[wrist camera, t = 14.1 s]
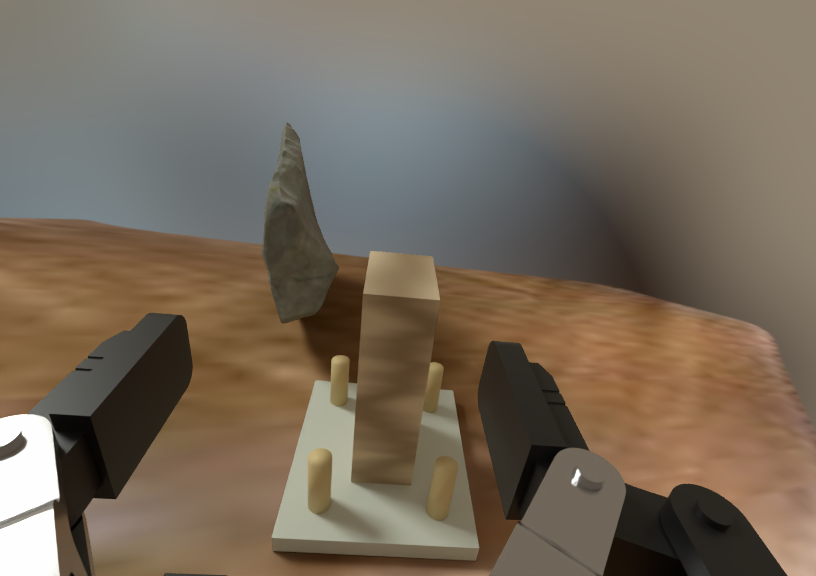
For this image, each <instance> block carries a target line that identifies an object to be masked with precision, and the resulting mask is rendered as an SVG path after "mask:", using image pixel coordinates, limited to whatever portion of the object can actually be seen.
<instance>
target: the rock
mask: <svg viewBox="0 0 816 576" xmlns="http://www.w3.org/2000/svg"><path fill="white" fill-rule="evenodd" d="M264 225H265V226H264V239H263V249H262V256H263V259H264V262H265V265H266V267H267V270H268V277H269V282H270V286H271V291H272V295H273V298H274V301H275V304H276V307H277V311H278V314H279V317H280V321H281V323H288V322H291V321H294V320H297V319H300V318H304V317H309V316H312V315H315V314H316V313H317V311H319V309H320V308H321V307H322V305H323V302H324V300H325V297H326V294H327V292H328V290H329V288H330V286H331V283H332V281H333V279H334V277H335V275H336V273H337V271H338V269H339V266H338V265H337V264H336V262H335V260H334V258H333V257H332V253H331V251H330V249H329V248H328V246H327V244H326V242H325V240H324V238H323V236H322V233H321V230H320V228H319V225H318V223H317V219H316V216H315V212H314V207H313V203H312V199H311V195H310V190H309V186H308V181H307V177H306V172H305V167H304V162H303V157H302V152H301V146H300V139H299V137H298V135H297V133H296V132H295V130H293V129H292V127H291V125H290V124H288V123H286V125H285V127H284V128H283V132H282V137H281V143H280V154H279V158H278V166H277V168H276V170H275V172H274V175H273V177H272V180H271V182H270V183H269V188H268V194H267V198H266V206H265V224H264Z"/></svg>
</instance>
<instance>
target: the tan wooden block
mask: <svg viewBox="0 0 816 576" xmlns="http://www.w3.org/2000/svg"><path fill="white" fill-rule="evenodd" d="M439 305H440V296H439V291H438V285H437V279H436V274H435V268H434V262H433V257H431V256H421V255H411V254H400V253H389V252H378V251H371V252H370V257H369V262H368V268H367V274H366V280H365V286H364V291H363V303H362V318H361V333H360V348H359V364H358V379H357V394H356V409H355V425H354V440H353V455H352V470H351V482H361V483H378V484H395V485H411V483H412V477H413V470H414V464H415V457H416V451H417V445H418V438H419V432H420V426H421V419H422V413H423V407H424V400H425V394H426V387H427V381H428V375H429V368H430V362H431V356H432V349H433V343H434V337H435V330H436V324H437V317H438V311H439Z"/></svg>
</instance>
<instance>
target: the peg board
mask: <svg viewBox="0 0 816 576" xmlns="http://www.w3.org/2000/svg"><path fill="white" fill-rule="evenodd" d="M349 364H350V360H349V358H348V357H347V356H344V355H337V356H335V357H333V358H332V360H331V381H317V380H316V381H315V384H314V388H313V391H312V395H311V399H310V402H309V406H308V409H307V413H306V416H305V420H304V424H303V427H302V431H301V434H300V438H299V441H298V445H297V449H296V452H295V456H294V459H293V463H292V467H291V470H290V474H289V477H288V481H287V484H286V488H285V492H284V495H283V499H282V502H281V506H280V509H279V513H278V517H277V520H276V524H275V527H274V531H273V534H272V551H285V552H306V553H326V554H347V555H367V556H388V557H408V558H429V559H449V560H470V561H476V558H477V555H478V551H479V543H478V537H477V531H476V525H475V519H474V513H473V507H472V501H471V495H470V489H469V483H468V477H467V471H466V465H465V459H464V453H463V447H462V441H461V435H460V429H459V424H458V418H457V412H456V406H455V400H454V394H453V390H440V388H441V382H442V377H443V371H444V367H443V366H442V365H441V364H439V363H436V362H431V363H430V368H429V375H428V381H427V387H426V394H425V400H424V407H423V413H422V419H421V426H420V432H419V438H418V445H417V451H416V457H415V464H414V470H413V477H412V483H411V485H395V484H378V483H361V482H351V470H352V455H353V440H354V425H355V409H356V394H357V383H349Z"/></svg>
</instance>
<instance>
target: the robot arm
mask: <svg viewBox="0 0 816 576" xmlns="http://www.w3.org/2000/svg"><path fill="white" fill-rule="evenodd" d="M192 368H193V365H192V357H191V350H190V344H189V337H188V331H187V324H186V320H185V318H184V317H183V316H182V315H172V314H159V313H149V314H147V315H146V316H145V317H144V318H143V319H142V320H141V321H140V322H139V323H138V324H137V325H136V326H135V327H134V328H133V329H132V330H131V331H122V332H121V333H119V334H117V335H115V336H113V337H111V338H109V339H107V340H106V341H104V342H102V343H101V344H100V345H99V346H98V347H97V348H96V349H95V350H94V351H93V352H92V353H91V354H90V355H89V356H88V359H84V360H83V361H82V362H81V363H80V364H79V365H78V366H77V367H76V370H75V371H72V372H71V373H70V374H69V375H68V376H67V377H66V378H64V379H63V380H62V381H61V382H60V383H59V384H58V385H57V386H56V387H55V388H54V389H53V390H52V391H51V392H50V393H49V394H48V395H47V396H46V397H45V398H43V399H42V400H41V401H40V402H39V403H38V404H37V405H36V406H35V407H34V408H33V409H32V410H31V411H30V412H29V413H28V414H25V415H16V416H10V417H6V418H3V419H0V576H95V571H94V565H93V558H92V552H91V546H90V540H89V533H88V527H87V521H86V517H85V514H84V510H85V509H86V507H87V506H88V504H89V503H90V502H91V500H92V499H93V498H103V499H116V498H117V497H118V495H119V494H120V492H121V491H122V489H123V487H124V486H125V484H126V483H127V481H128V480H129V478H130V476H131V475H132V473H133V472H134V470H135V469H136V467H137V466H138V464H139V462H140V461H141V459H142V458H143V456H144V455H145V453H146V452H147V450H148V448H149V447H150V445H151V444H152V442H153V441H154V439H155V437H156V436H157V434H158V433H159V431H160V430H161V428H162V427H163V425H164V423H165V422H166V420H167V419H168V417H169V416H170V414H171V413H172V411H173V409H174V408H175V406H176V405H177V403H178V402H179V400H180V398H181V397H182V395H183V394H184V392H185V391H186V389H187V387H188V385H189V383H190V380H191V376H192ZM478 406H479V411H480V415H481V419H482V423H483V428H484V432H485V436H486V440H487V444H488V448H489V452H490V456H491V460H492V465H493V469H494V473H495V477H496V481H497V485H498V489H499V493H500V498H501V502H502V506H503V510H504V514H505V518H506V519H509V520H522V521H521V522H520V521H519V522H518V523H517V525H516V526H515V528H514V530H513V532H512V534H511V535H510V537H509V539H508V541H507V543H506V545H505V547H504V549H503V551H502V553H501V554H500V556H499V558H498V560H497V562H496V564H495V566H494V568H493V570H492V571H491V573H490V575H489V576H787V575H786V573H785V572H784V570H783V569H782V568H781V566H780V565H779V563H778V562H777V561H776V559H775V558H774V556H773V555H772V554H771V552H770V551H769V549H768V548H767V547H766V545H765V544H764V542H763V541H762V540H761V538H760V537H759V535H758V534H757V533H756V531H755V530H754V528H753V527H752V526H751V524H750V523H749V521H748V520H747V519H746V517H745V516H744V515H743V514H742V513H741V512H740V511H739V510H738V509H737V508H736V507H735V506H734V505H733V504H732V503H731V502H729V501H728V500H726V499H725V498H724V497H722V496H721V495H719V494H717V493H715V492H713V491H712V490H709V489H707V488H705V487H702V486H698V485H694V484H681V485H678V486H676V487H675V488H674V489H673V490H672V492H671V493H670V495H669V497H668V498H667V497H664V496H661V495H658V494H655V493H651V492H648V491H645V490H642V489H639V488H636V487H633V486H631V485H628V484H626V483H624V481H623V479H622V477H621V475H620V474H619V472H618V471H617V470H616V469H615V467H614V466H613V465H611V464H610V463H609V462H608V461H607V460H605V459H604V458H603V457H601V456H599V455H597V454H595V453H593V452H591V451H589V449H588V447H587V445H586V443H585V441H584V439H583V437H582V435H581V433H580V431H579V429H578V427H577V425H576V423H575V421H574V419H573V417H572V415H571V413H570V411H569V409H568V407H567V406H565V401H564V399H563V397H562V395H561V394H559V389H558V387H557V385H556V383H555V381H554V379H553V377H552V376H551V375H550V374H549V373H548V372H547V371H546V370H545V369H544V368H543V367H542V366H541V365H540V364H539V363H530V362H529V361H528V359H527V357H526V355H525V352H524V350H523V348H522V346H521V344H520V343H511V342H499V341H491V343H490V344H489V347H488V351H487V355H486V359H485V363H484V367H483V371H482V375H481V379H480V383H479V389H478ZM164 576H226V575H201V574H173V573H165V574H164Z"/></svg>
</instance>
